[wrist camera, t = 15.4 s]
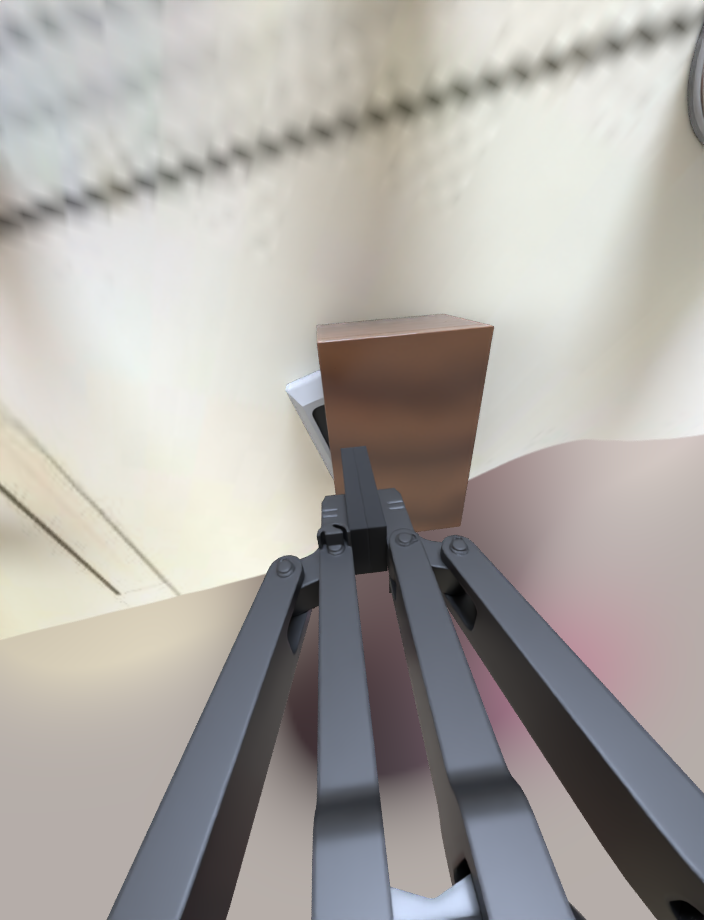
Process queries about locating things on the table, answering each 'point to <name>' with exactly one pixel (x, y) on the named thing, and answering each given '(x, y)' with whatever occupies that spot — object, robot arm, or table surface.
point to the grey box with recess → (312, 412)
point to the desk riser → (407, 406)
